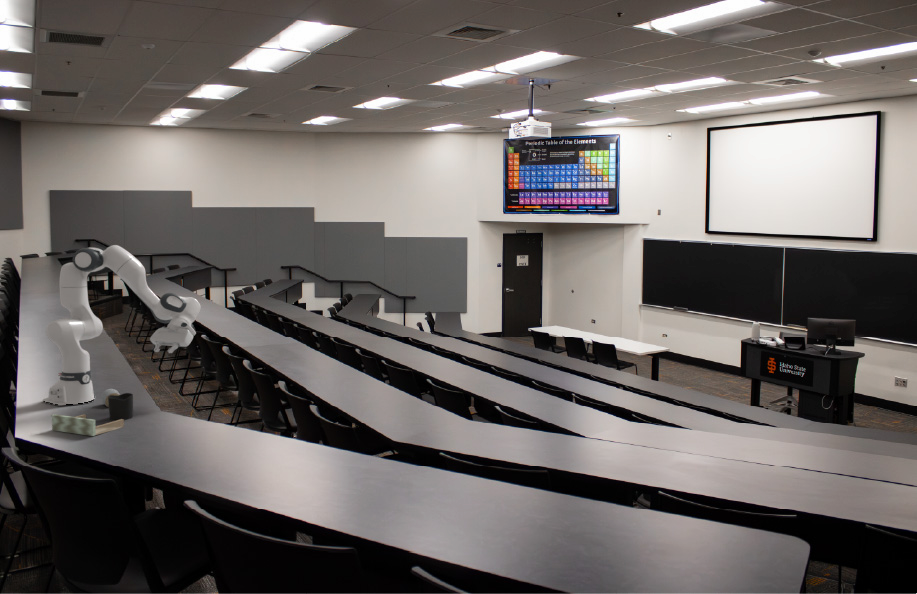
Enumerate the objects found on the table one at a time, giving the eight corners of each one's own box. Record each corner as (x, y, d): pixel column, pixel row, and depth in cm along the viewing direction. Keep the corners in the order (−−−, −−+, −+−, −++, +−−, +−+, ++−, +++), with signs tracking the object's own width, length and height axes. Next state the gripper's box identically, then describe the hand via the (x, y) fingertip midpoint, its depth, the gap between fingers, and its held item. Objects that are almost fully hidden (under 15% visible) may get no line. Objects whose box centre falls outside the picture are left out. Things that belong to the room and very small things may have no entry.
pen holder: (127, 422, 284) (126, 398, 283) (104, 422, 284) (103, 398, 283) (138, 416, 293) (137, 393, 292) (116, 415, 294) (115, 392, 293)
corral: (52, 430, 270) (51, 415, 270) (84, 421, 284) (83, 407, 284) (93, 435, 263) (92, 420, 263) (123, 426, 277) (123, 412, 276)
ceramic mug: (105, 410, 305) (105, 393, 304) (101, 406, 311) (100, 389, 311) (131, 406, 312) (130, 389, 311) (126, 402, 318) (125, 386, 317)
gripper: (156, 322, 319) (140, 346, 310) (192, 324, 312) (176, 348, 303) (164, 331, 323) (148, 354, 315) (199, 333, 316) (184, 357, 308)
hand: (162, 351), depth 309 cm, fingers open, 6 cm apart
